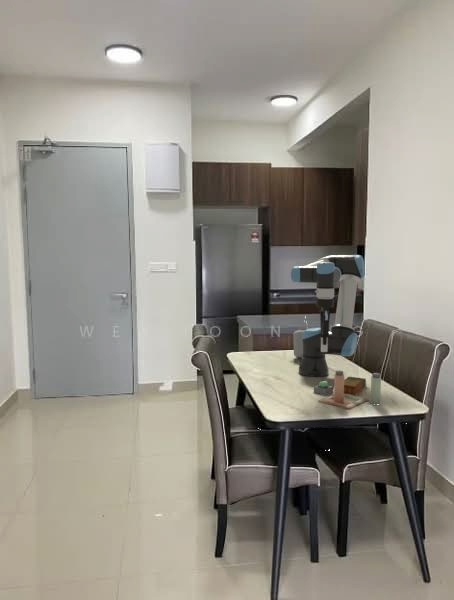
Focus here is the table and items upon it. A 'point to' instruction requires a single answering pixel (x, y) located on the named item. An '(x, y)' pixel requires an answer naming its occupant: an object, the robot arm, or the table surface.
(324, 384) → the button
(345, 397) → the colouring board
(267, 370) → the table surface
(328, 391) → the button housing
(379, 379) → the sage marker
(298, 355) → the jar
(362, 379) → the carton
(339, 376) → the terracotta marker
